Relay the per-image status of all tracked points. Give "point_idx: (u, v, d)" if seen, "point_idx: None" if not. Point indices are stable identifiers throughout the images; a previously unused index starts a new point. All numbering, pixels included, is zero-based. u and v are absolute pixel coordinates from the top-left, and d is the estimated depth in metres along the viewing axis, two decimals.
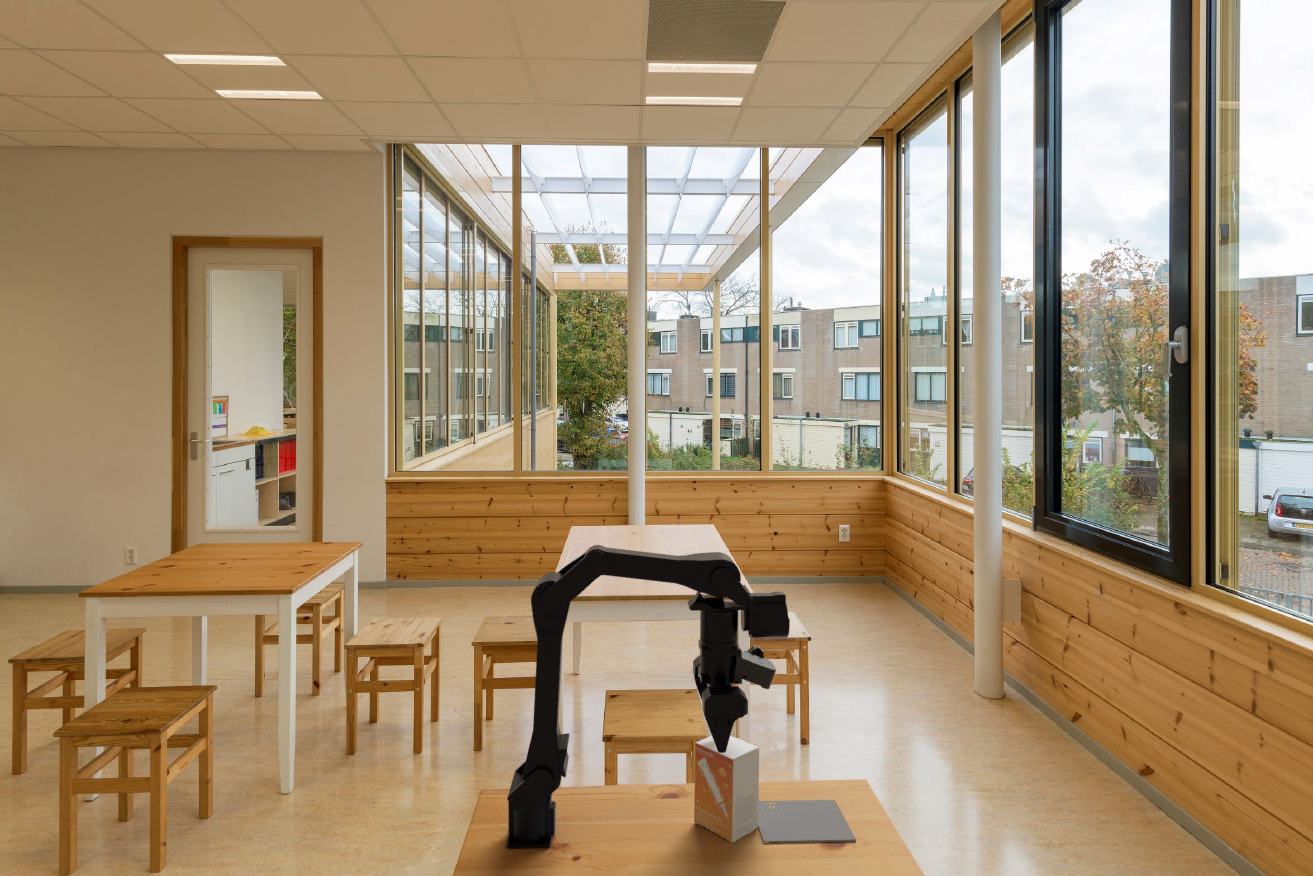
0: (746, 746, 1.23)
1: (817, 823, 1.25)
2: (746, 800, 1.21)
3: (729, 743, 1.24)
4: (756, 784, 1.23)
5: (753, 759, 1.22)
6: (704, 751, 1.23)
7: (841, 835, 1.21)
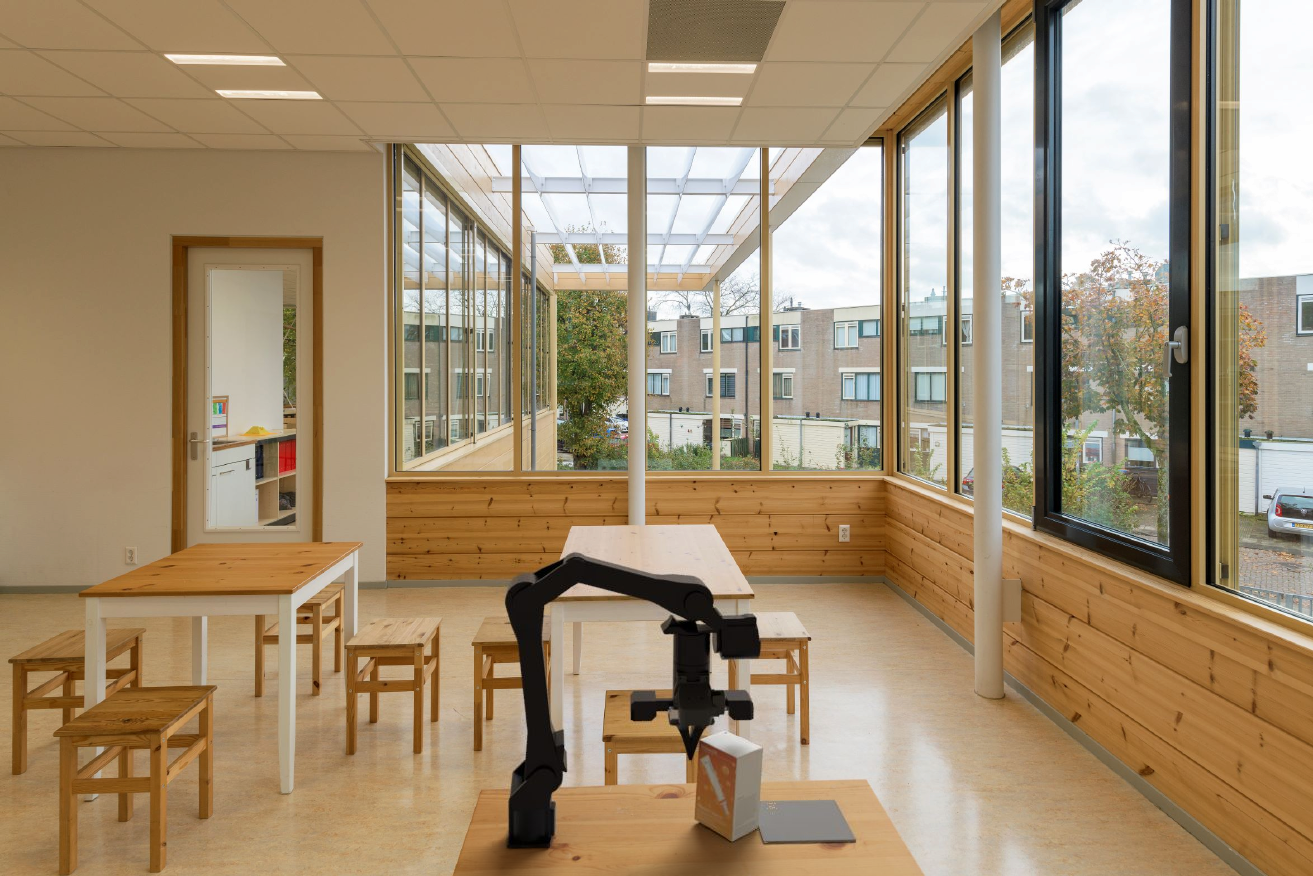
0: (750, 746, 1.23)
1: (817, 823, 1.25)
2: (748, 799, 1.21)
3: (733, 742, 1.24)
4: (758, 784, 1.23)
5: (756, 758, 1.22)
6: (708, 748, 1.23)
7: (841, 835, 1.21)
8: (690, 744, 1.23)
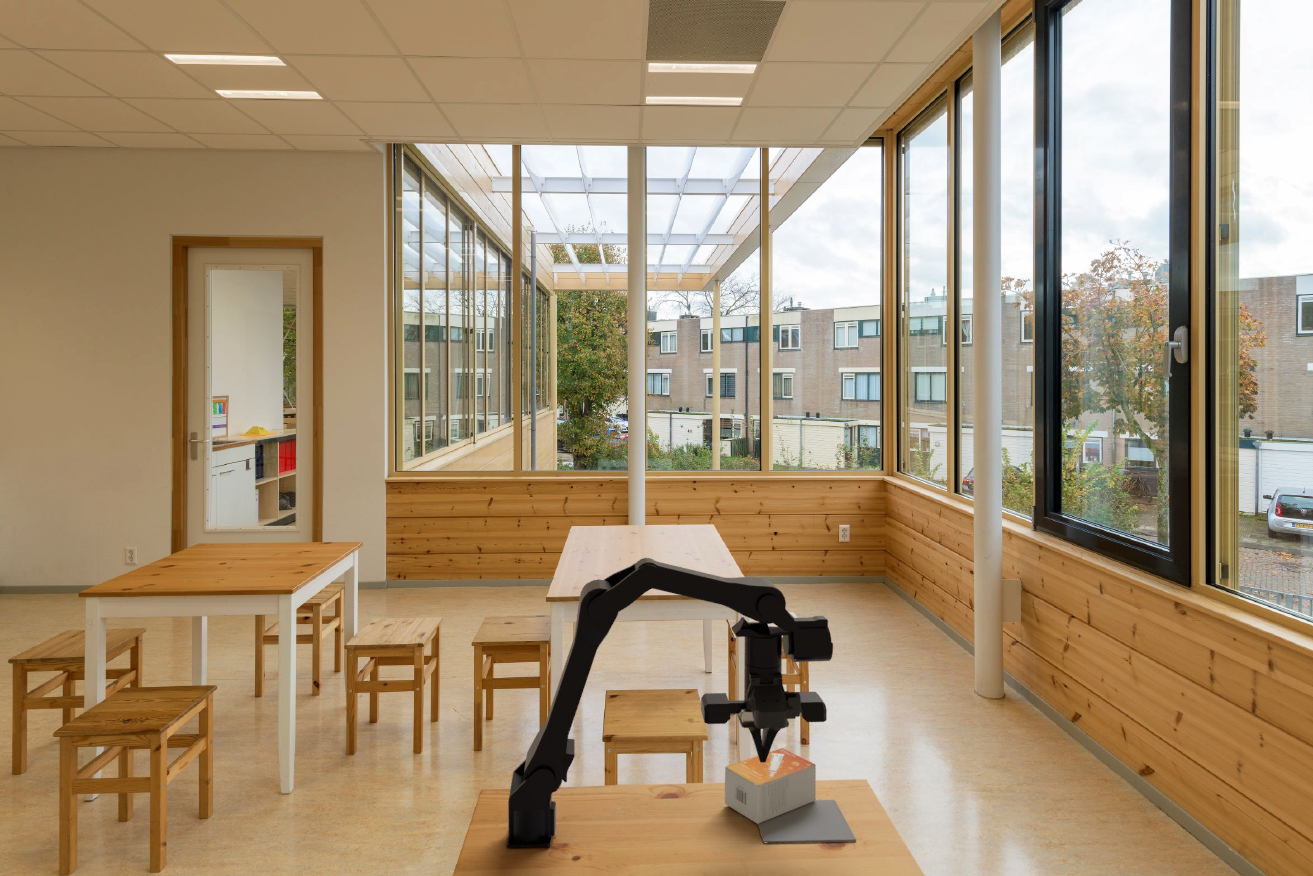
0: None
1: (817, 823, 1.25)
2: (783, 796, 1.27)
3: None
4: (791, 806, 1.28)
5: (810, 794, 1.31)
6: (787, 752, 1.36)
7: (841, 835, 1.21)
8: (764, 746, 1.23)
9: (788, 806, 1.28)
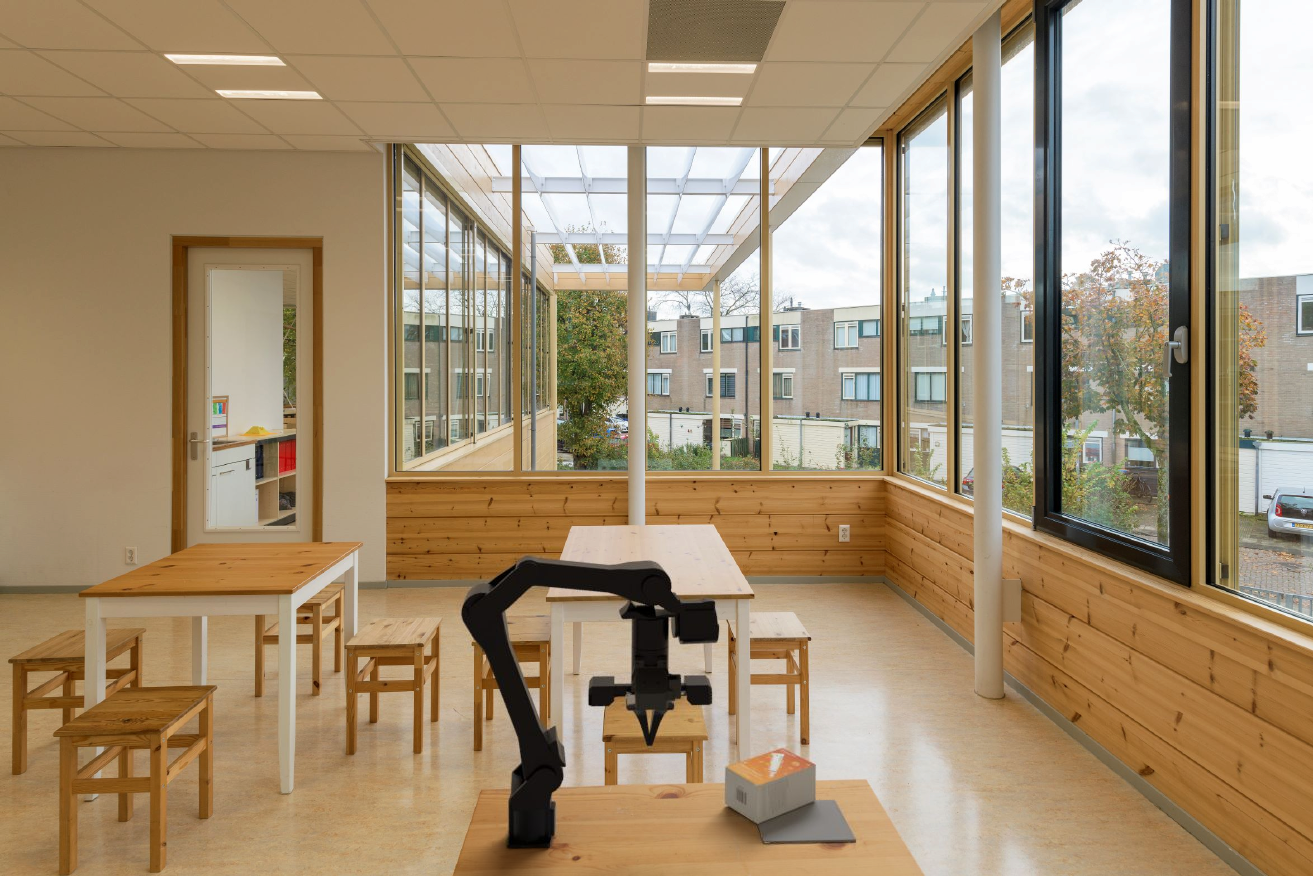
0: None
1: (817, 823, 1.25)
2: (783, 796, 1.27)
3: None
4: (791, 806, 1.28)
5: (810, 794, 1.31)
6: (788, 752, 1.36)
7: (841, 835, 1.21)
8: (650, 729, 1.22)
9: (788, 806, 1.28)
